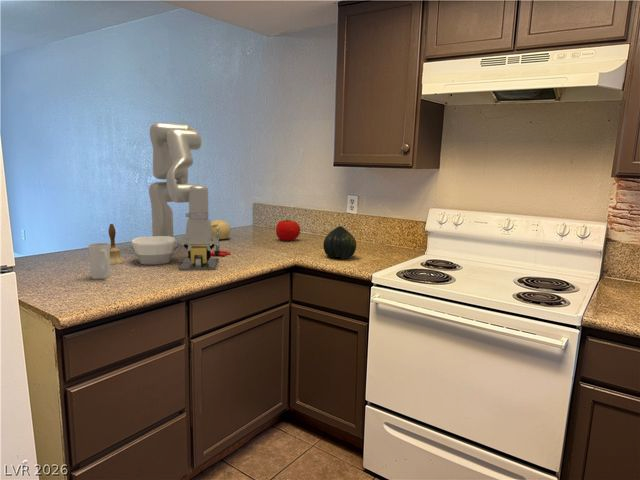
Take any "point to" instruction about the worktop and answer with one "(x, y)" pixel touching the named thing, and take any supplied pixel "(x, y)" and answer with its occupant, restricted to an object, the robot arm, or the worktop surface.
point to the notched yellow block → (198, 252)
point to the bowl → (154, 249)
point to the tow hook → (217, 251)
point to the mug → (99, 260)
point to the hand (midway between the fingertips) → (199, 259)
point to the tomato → (287, 230)
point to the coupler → (199, 264)
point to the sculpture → (221, 229)
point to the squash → (339, 243)
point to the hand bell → (114, 248)
